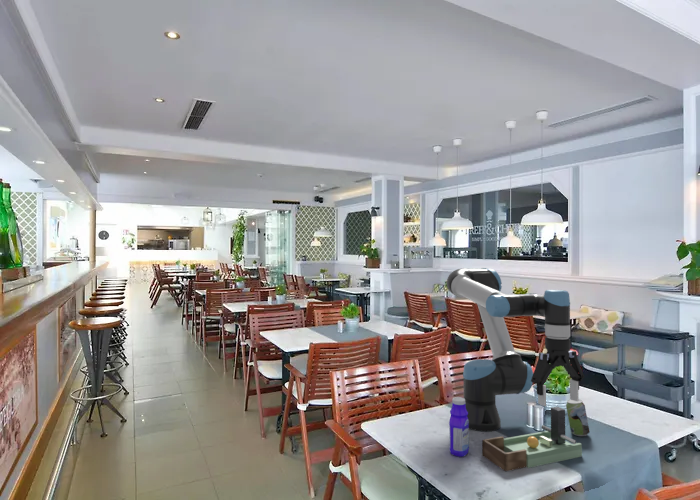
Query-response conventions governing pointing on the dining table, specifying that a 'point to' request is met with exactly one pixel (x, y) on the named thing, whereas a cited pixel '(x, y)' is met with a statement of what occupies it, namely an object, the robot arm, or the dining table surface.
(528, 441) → the ball
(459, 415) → the bottle
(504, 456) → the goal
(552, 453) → the pitch
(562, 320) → the robot arm
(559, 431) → the kicker
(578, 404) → the beverage can
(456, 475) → the dining table surface
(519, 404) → the dining table surface
